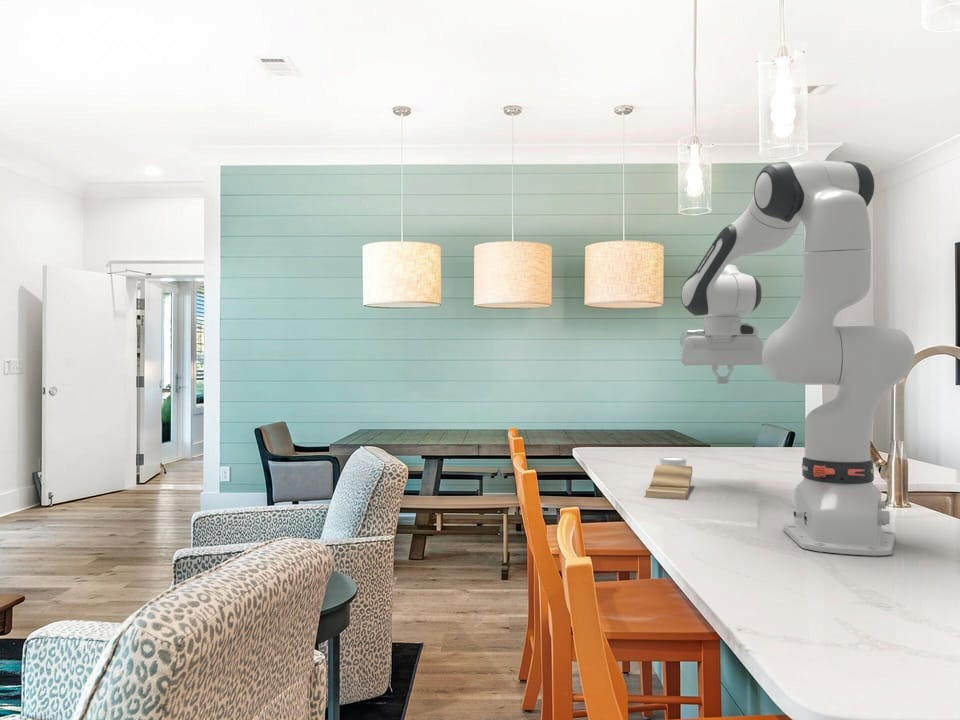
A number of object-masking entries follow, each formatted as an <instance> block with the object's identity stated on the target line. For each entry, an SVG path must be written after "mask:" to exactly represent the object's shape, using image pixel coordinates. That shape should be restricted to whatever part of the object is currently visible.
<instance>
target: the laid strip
mask: <svg viewBox="0 0 960 720" xmlns="http://www.w3.org/2000/svg"><path fill="white" fill-rule="evenodd" d="M645 495H646V497H650V498H649V499H664V498H667V500H681V499H685V500H684V501H687V500H686V498H687V496H688V487H677V486H657V485H650V484H649V486H648V488H647V489H646V490H645ZM646 497H645V498H646Z"/></svg>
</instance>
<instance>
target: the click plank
mask: <svg viewBox="0 0 960 720" xmlns="http://www.w3.org/2000/svg"><path fill="white" fill-rule="evenodd" d="M654 467H655V468H654V471H653V475H652V478H651V481H650V484H649V486H650V485H657V486H677V487H688V494H689V488H690V486H691V482H692V477H693V466H688V465H686V466H668V465H660V464H656V465H655V466H654Z"/></svg>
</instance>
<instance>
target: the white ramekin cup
mask: <svg viewBox="0 0 960 720" xmlns="http://www.w3.org/2000/svg"><path fill="white" fill-rule="evenodd" d="M659 462H660V464H659V465H668V466H687V459H686V458H683V457H673V456H672V457H670V456H669V457H660V458H659Z"/></svg>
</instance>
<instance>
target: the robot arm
mask: <svg viewBox="0 0 960 720" xmlns="http://www.w3.org/2000/svg"><path fill="white" fill-rule="evenodd" d="M753 188H754V189H753V196H752V198H751V199H750V200H751V201H750V202H749V205H748V206H747V208H746V209H745V210H744V212H743V213H742V214H741V215H740V216H739V217H738V218H737V219H736V220H734V221H733V222H732V223H730V224H728V225H726V226H725V227H724V228H722V229H721V231H720V232H719V234H718V235H717V236H716V237H715V240H713V242H712V244H711V246H710V247H709V248H708V250H707V251H706V253H705V255H704V256H703V257H702V259H701V261H700V262H699V264H698V266H697V267H696V268H695V270H694V272H693V273H692V274H691V275H690V276H689V277H687V279H686V280H685V282H684V283H683V285H682V289H681V303H682V305H683V307H684V308H685V309H686V310H687V311H688V312H689V313H691V314H692V315H693V316H695V317H697V316H698V317H699V316H704V317H703V318H704V319H703V320H704V321H703V322H704V323H703V324H704V325H703V326H704V329H695V330H694V329H693V330H692V329H688V330H685V331H684V332H683V333H681V334H680V338H679V339H680V342H679V343H680V345H681V347H682V350H681V363H682V365H683V366H685V367H686V366H690V367H691V366H711V367H712V368H711V369H712V372H713V374H714V375H715V376H716V384H730V376H731V374H732V373H733V372H734V366H762V365H763V368H764V369H765V371H766V373H767V374H768V375H769V377H770V378H771V379H773V381H777V382H781V383H786V384H793V385H798V386H799V385H800V386H804V385H805V386H806V385H809V386H810V385H811V386H812V385H817V386H818V385H819V386H821V385H824V386H825V385H827V386H828V385H829V386H830V385H831V386H832V385H834V386H838V392H837V395H836V396H835V397H834V399H832V400H831V401H828V402H825V403H823V404H821V405H819V406H816V407H815V408H814V409H812V410H811V411H810V412H809V413H808V414H807V415H806V417H805V419H804V456H803V457H802V462H801V463H802V464H801V469H802V474H801V475H802V476H803V478H802V480H801V482H799V483H798V484H797V485H796V486H795V487H794V488H793V490H794V491H793V492H794V493H793V523H786V524H783V527H782V530H783V532H784V533H786V534H787V536H789V537H790V538H791V539H792V540H793V541H794V542H795V543H796V544H797V545H798V546H799V547H800V548H802V549H805V550H810V551H816V552H821V553H822V552H825V553H831V554H842V555H852V556H853V555H854V556H859V555H860V556H891V555H893V553H894V548H895V543H896V538H897V537H896V532H895V531H893V530H888V529H883V526H887V525H890V524H891V523H890V522H891V521H890V519H891V518H890V515H891V514H890V511H889V510H884V509H886V508H887V504H886V503H887V502H886V501H885V500H882V491H881V490H880V489H879V488H878V487H877V486H876V485H875V484H874V483H873V481H874V480H875V476H874V475H875V466H874V461H873V460H872V459H871V437H872V424H873V419H874V415H875V412H876V409H877V407H878V405H879V403H880V401H881V400H882V398H883V397H884V396H885V395H886V394H887V392H888V391H889V390H890V389H892V387H894V386H895V385H896V384H898V383H899V382H900V381H902V380H904V379H905V378H906V377H907V376H908V374H909V373H910V372H911V370H912V368H913V366H914V363H915V348H914V345H913V343H912V340H911V339H910V337H909V336H908V335H907V334H906V332H904V331H903V330H901V329H897V328H892V327H886V326H885V327H884V326H879V325H850V326H849V325H845V326H843V325H842V326H841V325H840V326H838V325H834V321H835V318H836V317H837V315H838V313H840V312H841V311H842V310H844V309H847V308H849V307H851V306H853V305H854V304H856V303H859V302H860V301H862V300H863V299H865V297H866V296H867V295H868V293H869V291H870V289H871V267H872V266H871V264H872V263H871V262H872V261H871V260H872V258H871V257H872V255H871V254H872V253H871V252H872V250H871V249H872V245H871V244H872V240H871V239H872V238H871V226H870V219H869V213H868V212H869V211H868V206H869V205H870V203H871V201H872V199H873V196H874V192H875V178H874V175H873V173H872V171H871V169H870V168H869V167H868V166H867V165H865V164H863V163H861V162H856V161H851V160H845V161H836V160H819V159H805V160H796V161H788V162H787V161H779V162H774V163H770V164H768V165H766V166H764V167H763V168H762V169H761V170H760V172H759V173H758V175H757V177H756V179H755V182H754V187H753ZM801 222H802V223H803V225H804V230H805V232H804V233H805V235H804V251H803V252H804V253H803V254H804V258H803V259H804V260H803V261H804V263H803V264H804V265H803V267H804V268H803V280H802V289H801V294H800V295H801V296H800V299H799V301H798V303H797V306H796V307H795V310H794V311H793V313H792V314H791V316H790V317H789V318H788V320H786V322H785V323H783V324H782V325H781V326H780V327H779V328H777V329H776V330H775V331H773V332H772V333H771V334H769V336H768V337H767V338H766V341H764V343H763V340H762V338H761V337H760V336H758V335H760V328H759V327H758V326H755V325H752V324H749V323H747V322H745V323H744V322H742V321H741V314H743V315H744V314H745V315H746V314H749V313H752V312H754V311H755V310H756V309H757V308H758V307H759V306H760V304H761V301H762V286H761V283H760V282H759V281H758V279H757V278H756V277H755V276H753V275H750V274H746V273H743V272H741V271H740V270H739V267H738V266H736V265H735V264H730V263H731V262H733V261H734V260H735V261H736V260H738V259H741V258H742V257H745V256H749V255H753V254H758V253H763V252H768V251H772V250H775V249H777V248H779V247H782V246H783V245H785V244H786V243H787V242H789V240H790V239H791V238H792V237H793V235H794V234H795V232H796V230H797V229H798V226H799V225H800V223H801ZM719 366H727V367H726V368H727V370H728V373H727V374H726V376H724V375H723V376H720V374H719V372H718V370H719Z"/></svg>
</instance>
